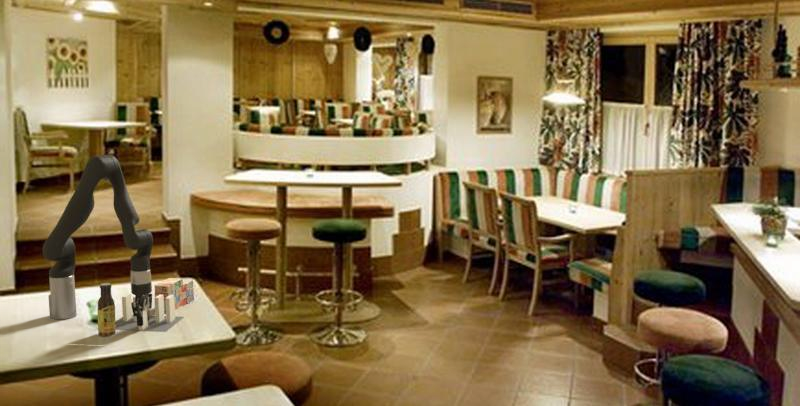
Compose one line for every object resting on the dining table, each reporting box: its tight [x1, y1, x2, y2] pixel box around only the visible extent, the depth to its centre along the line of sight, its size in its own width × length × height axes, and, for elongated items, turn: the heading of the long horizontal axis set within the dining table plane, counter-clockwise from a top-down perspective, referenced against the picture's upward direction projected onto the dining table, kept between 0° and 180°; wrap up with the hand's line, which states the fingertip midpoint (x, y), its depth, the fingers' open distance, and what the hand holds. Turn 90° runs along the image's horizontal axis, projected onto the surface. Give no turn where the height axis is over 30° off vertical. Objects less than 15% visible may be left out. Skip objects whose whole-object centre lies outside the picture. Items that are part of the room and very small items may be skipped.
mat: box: [115, 314, 185, 333], centre depth 302 cm, size 25×19×1 cm
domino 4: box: [154, 295, 165, 322], centre depth 305 cm, size 2×5×10 cm, turn 175°
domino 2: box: [132, 295, 137, 321], centre depth 306 cm, size 2×5×10 cm, turn 175°
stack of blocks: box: [154, 277, 195, 314], centre depth 325 cm, size 21×6×12 cm, turn 167°
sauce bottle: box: [97, 282, 117, 338], centre depth 287 cm, size 7×6×20 cm
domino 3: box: [139, 305, 148, 330], centre depth 295 cm, size 2×5×10 cm, turn 175°
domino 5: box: [165, 295, 176, 323], centre depth 304 cm, size 2×5×10 cm, turn 175°
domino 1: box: [121, 292, 133, 321], centre depth 306 cm, size 2×5×10 cm, turn 175°
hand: (143, 323), depth 296 cm, fingers closed on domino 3, 5 cm apart
